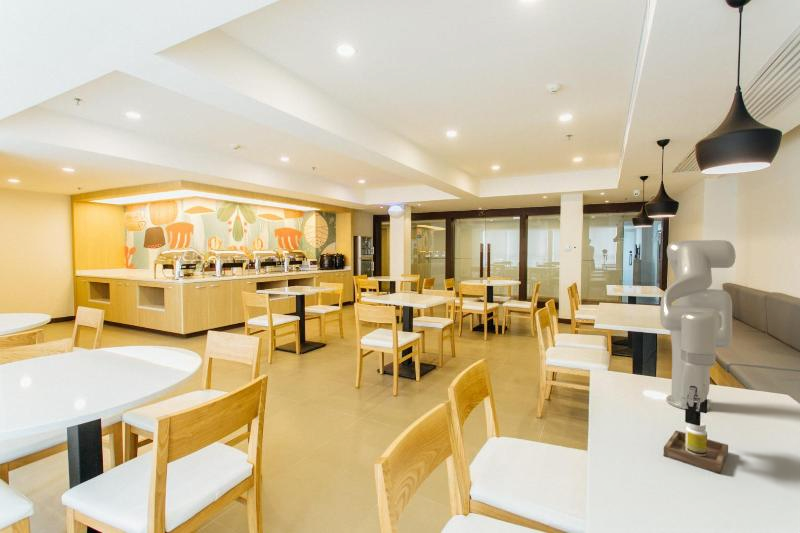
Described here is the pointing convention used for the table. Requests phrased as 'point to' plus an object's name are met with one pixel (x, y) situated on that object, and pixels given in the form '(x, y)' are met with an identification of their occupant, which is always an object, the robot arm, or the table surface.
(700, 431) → the supplement bottle
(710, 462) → the tray
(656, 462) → the table surface
